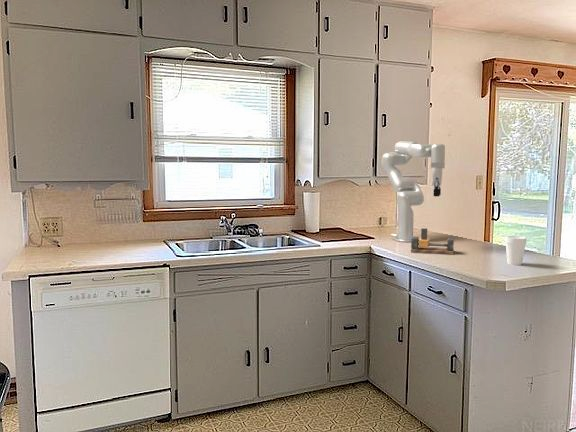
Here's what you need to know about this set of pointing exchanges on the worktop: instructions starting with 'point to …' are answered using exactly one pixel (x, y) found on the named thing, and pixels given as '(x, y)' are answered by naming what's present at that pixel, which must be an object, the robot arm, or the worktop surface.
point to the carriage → (423, 239)
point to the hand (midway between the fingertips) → (437, 195)
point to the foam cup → (515, 249)
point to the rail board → (433, 250)
